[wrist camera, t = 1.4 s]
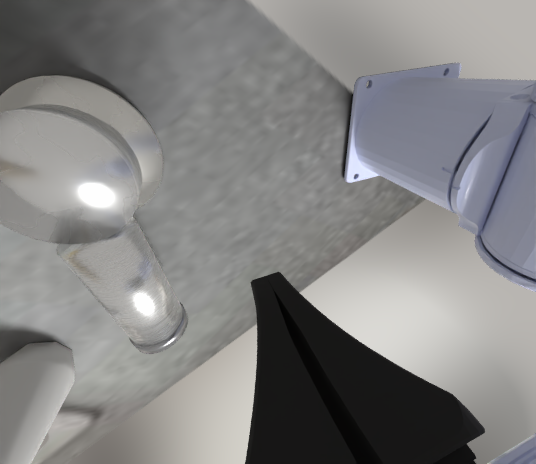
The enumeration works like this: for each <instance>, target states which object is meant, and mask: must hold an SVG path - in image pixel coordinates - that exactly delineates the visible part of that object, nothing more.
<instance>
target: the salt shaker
mask: <svg viewBox="0 0 536 464" xmlns="http://www.w3.org/2000/svg"><path fill="white" fill-rule="evenodd" d="M74 380H75V366H74V360H73V353H72V350H71V349H69V348H67V347H65V346H63V345H61V344H59V343H57V342H44V343H29V344H27V345H25V346H24V347H23V348H21V349H20V350H18V351H17V352H16V353H14V354H13V355H11V356H10V357H9V358H7V359H6V360H4V361H3V362H2V363H0V464H31V462H32V461H33V459H34V457H35V455H36V453H37V451H38V449H39V447H40V445H41V444H42V442H43V440H44V438H45V436H46V434H47V432H48V430H49V428H50V427H51V425H52V423H53V421H54V419H55V417H56V415H57V413H58V412H59V410H60V408H61V406H62V404H63V402H64V400H65V398H66V396H67V395H68V393H69V391H70V389H71V387H72V385H73V383H74Z"/></svg>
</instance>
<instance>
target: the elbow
mask: <svg viewBox="0 0 536 464" xmlns="http://www.w3.org/2000/svg"><path fill="white" fill-rule="evenodd" d="M141 187H142V172H141V167H140V164H139V161H138V159H137V157H136V155H135V153H134V151H133V150H132V148H131V147H130V145H129V144H128V143H127V142H126V141H125V139H124V138H123V137H122V136H121V135H120V134H119V133H118V132H117V131H115V130H114V129H113V128H112V127H110V126H109V125H108V124H106V123H104V122H103V121H101V120H100V119H98V118H96V117H94V116H92V115H90V114H88V113H85V112H83V111H80V110H78V109H74V108H70V107H67V106H61V105H53V104H38V105H30V106H26V107H21V108H17V109H13V110H9V111H5V112H0V224H2V225H3V226H5V227H7V228H9V229H11V230H13V231H15V232H18V233H20V234H22V235H25V236H28V237H31V238H34V239H37V240H42V241H46V242H52V243H59V245H58V247H57V254H58V255H59V256H60V258H61V259H62V260H63V261H64V262H65V263H66V265H67V266H68V267H69V268H70V269H71V270H72V271H73V273H74V274H75V275H76V276H77V277H78V278H79V280H80V281H81V282H82V283H83V284H84V285H85V286H86V288H87V289H88V290H89V291H90V292H91V293H92V295H93V296H94V297H95V298H96V299H97V300H98V302H99V303H100V304H101V305H102V306H103V307H104V308H105V310H106V311H107V312H108V313H109V314H110V315H111V317H112V318H113V319H114V320H115V321H116V322H117V323H118V325H119V326H120V327H121V328H122V329H123V330H124V332H125V333H126V334H127V335H128V336H129V338H130V341H131V342H132V344H133V345H134V346H135V347H136V348H137V349H138V350H139V351H140V352H142V353H146V354H153V353H158V352H161V351H164V350H166V349H167V348H169V347H171V346H172V345H173V344H175V343H176V342H177V341H178V340H179V339H180V337H181V336H182V335H183V333H184V331H185V329H186V327H187V324H188V315H187V313H186V311H185V309H184V307H183V305H182V304H181V303H180V302H179V300H178V299H177V297H176V295H175V293H174V291H173V289H172V287H171V285H170V283H169V281H168V280H167V278H166V276H165V274H164V272H163V270H162V268H161V266H160V264H159V262H158V261H157V259H156V257H155V255H154V253H153V251H152V249H151V247H150V245H149V244H148V242H147V240H146V238H145V236H144V234H143V232H142V230H141V228H140V226H139V225H138V223H137V221H136V219H135V218H133V217H132V216H133V214H134V212H135V209H136V206H137V202H138V198H139V195H140V191H141Z"/></svg>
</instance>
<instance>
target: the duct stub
mask: <svg viewBox="0 0 536 464" xmlns="http://www.w3.org/2000/svg"><path fill="white" fill-rule="evenodd" d="M38 104H53V105H61V106H67V107H70V108H74V109H78V110H80V111H83V112H85V113H88V114H90V115H92V116H94V117H96V118H98V119H100V120H101V121H103V122H104V123H106V124H108V125H109V126H110V127H112V128H113V129H114V130H115V131H117V132H118V133H119V134H120V135H121V136H122V137H123V138H124V139H125V141H126V142H127V143H128V144H129V145H130V147H131V148H132V150H133V151H134V153H135V155H136V157H137V159H138V161H139V164H140V167H141V172H142V187H141V191H140V195H139V198H138V202H137V206H136V209H135V210H137V209H139V208H140V207H142V206H143V205H145V204H146V203H147V202H148V201H149V200H150V199H151V198H152V197H153V196H154V194H155V193H156V191H157V190H158V187H159V185H160V183H161V179H162V174H163V154H162V150H161V146H160V143H159V141H158V138H157V136H156V134H155V132H154V130H153V129H152V127H151V125H150V124H149V123H148V121H147V120H146V119H145V117H144V116H143V115H142V114H141V113H140V112H139V111H138V110H137V109H136V108H135V107H134V106H133V105H132V104H130V103H129V102H128V101H127V100H125V99H124V98H123V97H121V96H120V95H118V94H117V93H115V92H113V91H111V90H110V89H108V88H106V87H104V86H101V85H99V84H97V83H94V82H91V81H88V80H85V79H81V78H76V77H72V76H61V75H54V76H39V77H34V78H29V79H26V80H23V81H21V82H18V83H16V84H15V85H13V86H11V87H10V88H8V89H7V90H6V91H5V92H4V93H3V94H2V95H1V96H0V112H5V111H9V110H13V109H17V108H21V107H26V106H30V105H38Z"/></svg>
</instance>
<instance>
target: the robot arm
mask: <svg viewBox="0 0 536 464" xmlns="http://www.w3.org/2000/svg"><path fill="white" fill-rule="evenodd" d="M460 71H461V64H460V63H451V64H444V65H438V66H430V67H424V68H417V69H410V70H403V71H397V72H390V73H384V74H377V75H370V76H363V77H359V78H358V79H357V80H356V82H355V85H354V93H353V102H352V111H351V121H350V130H349V139H348V148H347V157H346V166H345V175H344V180H345V181H346V182H348V183H351V182H355V181H359V180H363V179H367V178H371V177H375V176H379V175H380V176H382V177H384V178H386V179H388V180H390V181H392V182H394V183H396V184H398V185H400V186H402V187H404V188H406V189H408V190H410V191H412V192H414V193H416V194H418V195H420V196H422V197H424V198H426V199H428V200H430V201H432V202H434V203H436V204H438V205H440V206H442V207H443V208H445V209H447V210H450V211H451V212H453V213H456V214H457V215H458V216H459V226H460V227H462V228H464V229H466V230H468V231H470V232H472V233H473V234H475V247H476V249H477V252H478V254H479V255H480V257H481V258H482V259H483V261H484V262H485V263H486V264H487V265H488V266H489V267H490V268H492V269H493V270H494V271H496V272H497V273H498V274H499V275H501V276H503V277H504V278H506V279H508V280H510V281H511V282H513V283H515V284H518V285H520V286H522V287H524V288H527V289H529V290H532V291H535V292H536V80H504V79H501V80H500V79H465V78H458V77H459V74H460ZM368 81H369V85H368V87H366V83H367V82H368ZM355 174H356V176H355V177H354V175H355ZM251 286H252V291H253V295H254V300H255V305H256V312H257V346H258V347H257V369H256V382H255V393H254V404H253V412H252V420H251V428H250V435H249V442H248V449H247V456H246V462H245V464H476V463H475V462H474V459H476V456H475V454H474V453H473V452H472V450H471V449H470V448H469V447H468V445H467V443H468V442H470V441H471V440H473V439H475V438H477V437H478V436H480V435H482V434H483V433H485V429H484V427H483V426H482V425H481V424H480V423H479V421H478V420H477V419H476V418H475V417H474V416H473V415H472V413H471V412H470V411H469V410H468V409H467V408H466V407H465V406H464V405H463V404H462V403H461V402H460V401H459V400H458V399H457V398H456V397H455V396H454V395H453V394H451V393H449V392H447V391H445V390H443V389H441V388H439V387H437V386H435V385H433V384H431V383H429V382H427V381H425V380H424V379H422V378H420V377H418V376H416V375H414V374H412V373H411V372H409V371H407V370H405V369H403V368H402V367H400V366H398V365H396V364H394V363H393V362H391V361H390V360H388V359H386V358H385V357H383V356H381V355H380V354H378V353H377V352H375V351H373V350H372V349H370V348H368V347H367V346H365V345H364V344H362V343H361V342H359V341H358V340H357V339H355V338H354V337H352V336H351V335H349V334H348V333H346V332H345V331H344V330H342V329H341V328H340V327H338V326H337V325H336V324H335V323H333V322H332V321H331V320H329V319H328V318H327V317H326V316H325V315H323V314H322V313H321V312H320V311H319V310H317V309H316V308H315V307H314V306H313V305H312V304H311V303H310V302H308V301H307V300H306V299H305V298H304V297H303V296H302V295H301V294H300V293H299V292H298V291H297V290H296V289H295V288H294V287H293V286H292V285H291V284H290V283H289V282H288V281H287V280H286V278H285V277H284V276H283V275H282V274H281V273H280V272H277V273H273V274H270V275H267V276H264V277H261V278H258V279H255V280H253V281H252V282H251ZM487 464H536V433H535V434H533V435H532V436H530V437H528V438H527V439H526V440H524V441H523V442H520V443H519V444H517V445H516V446H514V447H512V448H511V449H509V450H508V451H506V452H504V453H503V454H501V455H500V456H498V457H497V458H495V459H494V460H492V461H490V462H488V463H487Z"/></svg>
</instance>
